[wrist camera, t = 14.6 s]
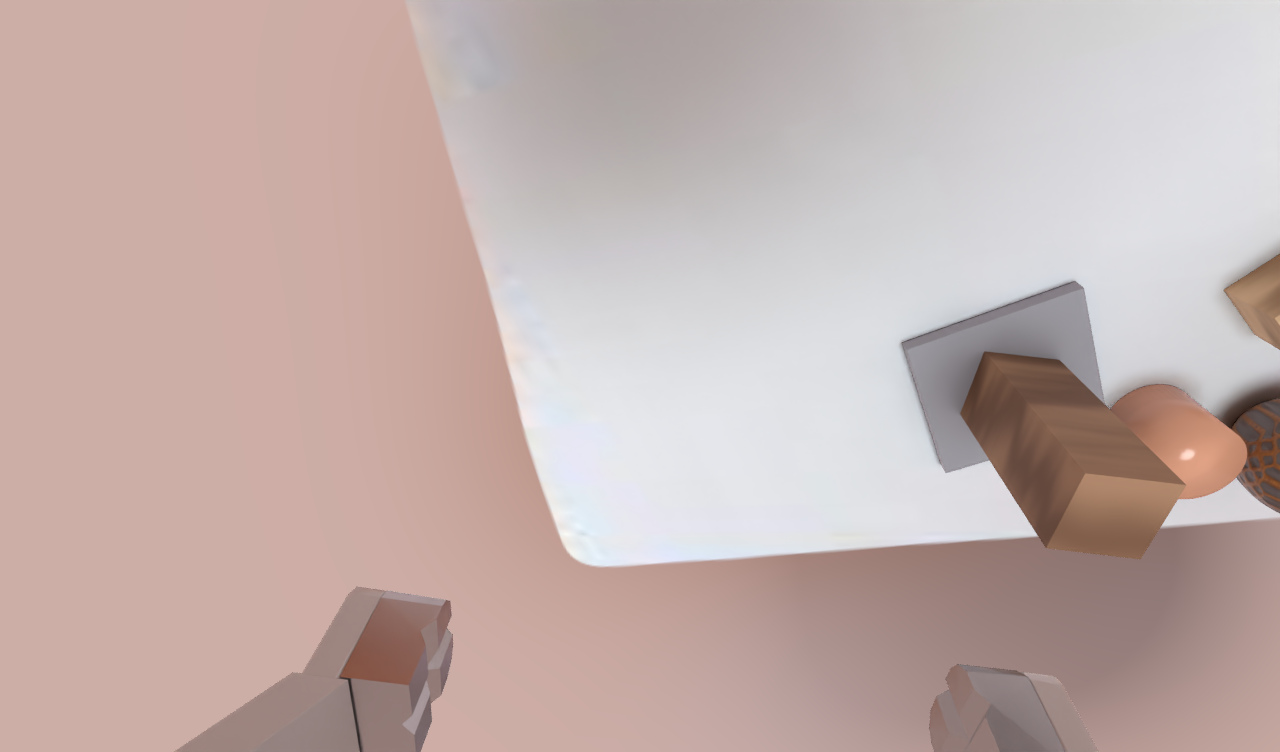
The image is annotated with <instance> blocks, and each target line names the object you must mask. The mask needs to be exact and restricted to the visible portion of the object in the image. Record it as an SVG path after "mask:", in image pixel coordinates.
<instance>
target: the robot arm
mask: <svg viewBox="0 0 1280 752" xmlns="http://www.w3.org/2000/svg"><path fill="white" fill-rule="evenodd" d="M450 618H451V604H450V601H448V600H443V599H437V598H430V597H424V596H418V595H411V594H405V593H398V592H392V591H384V590H377V589H369V588H362V587H356V588H355V589H354V590H353V591H352V592H350V593H349V594H348V596H347V597H346V599H345V601H344V603H343V604H342V606H341V608H340V609H339V611H338V613H337V614H336V616H335V618H334V620H333V621H332V623H331V625H330V626H329V628H328V630H327V632H326V633H325V635H324V637H323V638H322V640H321V642H320V644H319V645H318V647H317V649H316V650H315V652H314V654H313V655H312V657H311V659H310V661H309V663H308V664H307V666H306V667H305V669H304V671H303V673H291V674H290V675H288V676H287V677H285V678H284V679H282V680H281V681H279V682H278V683H276V684H275V685H273V686H272V687H270V688H269V689H267V690H266V691H264V692H263V693H261V694H260V695H258V696H257V697H255V698H254V699H252V700H251V701H249V702H248V703H246V704H245V705H243V706H242V707H240V708H239V709H237V710H236V711H234V712H233V713H231V714H230V715H228V716H227V717H225V718H224V719H222V720H221V721H219V722H218V723H216V724H215V725H213V726H212V727H210V728H209V729H207V730H206V731H204V732H203V733H201V734H200V735H198V736H197V737H195V738H194V739H192V740H191V741H189V742H188V743H186V744H185V745H184V746H182V747H180V748H179V749H177V750H176V751H174V752H421V749H422V746H423V743H424V741H425V738H426V735H427V733H428V730H429V727H430V725H431V722H432V716H431V703H432V702H433V701H434V700H435V699H436V698H438V697H439V696H440V695H441V694H442V692H443V689H444V686H445V683H446V680H447V677H448V672H449V667H450V664H451V659H452V649H453V634H452V633H451V632H450V631H449V630H448V629H447V626H448V623H449V621H450ZM946 681H947V684H948V687H949V690H947V691H945V692H944V693H942V694H940V695H938V696H937V697H936V699H935V701H934V703H933V706H932V708H931V712H930V724H929V729H930V736H931V743H932V746H933V749H934V752H1099V751H1098V749H1097V747H1096V745H1095V743H1094V742H1093V740H1092V738H1091V736H1090V734H1089V732H1088V731H1087V729H1086V727H1085V725H1084V723H1083V721H1082V720H1081V718H1080V716H1079V714H1078V712H1077V711H1076V709H1075V707H1074V705H1073V703H1072V701H1071V699H1070V698H1069V696H1068V694H1067V692H1066V690H1065V689H1064V687H1063V685H1062V684H1061V682H1060V681H1059V680H1057V678H1056V677H1055V676H1049V675H1041V674H1033V673H1025V672H1018V671H1014V670H1005V669H996V668H988V667H979V666H970V665H961V664H957V665H955V666H954V667H952V668H951V669H950V671H949V673H948V675H947V677H946Z"/></svg>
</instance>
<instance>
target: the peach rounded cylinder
mask: <svg viewBox="0 0 1280 752" xmlns="http://www.w3.org/2000/svg"><path fill="white" fill-rule="evenodd" d="M1111 411H1112V412H1113V413H1114V414H1115V415H1116V416H1117V417H1118V418H1119V419H1120V420H1121V421H1122V422H1123V423H1124V424H1125V425H1126V426H1127V427H1128V428H1129V429H1130V430H1131V431H1132V432H1133V433H1134V434H1135V435H1136V436H1137V437H1138V438H1139V439H1140V440H1141V441H1142V442H1143V443H1144V444H1145V445H1146V446H1147V447H1148V448H1149V449H1150V450H1151V451H1152V452H1153V453H1154V454H1156V455H1157V456H1158V457H1159V458H1160V459H1161V460H1162V461H1163V462H1164V463H1165V464H1166V465H1167V466H1168V467H1169V468H1170V469H1171V470H1172V471H1173V472H1174V473H1175V474H1176V475H1177V476H1178V477H1179V478H1180V479H1181V480H1182V481H1183V482H1184V483H1185V484H1186V487H1185V488H1184V490H1183V492H1182V493H1181V495H1180V497H1179V498H1178V499H1193V498H1199V497H1203V496H1206V495H1209V494H1212V493H1214V492H1216V491H1218V490H1220V489H1222V488H1223V487H1225V486H1226V485H1228V484H1229V483H1230V482H1232V481H1233V480H1234V479H1235V478H1236V477H1237V476H1238V474H1239V473H1240V472H1241V470H1242V469H1243V467H1244V465H1245V463H1246V459H1247V448H1246V444H1245V443H1244V441H1243V440H1242V438H1241V437H1240V436H1238V435H1237V434H1236V433H1235V432H1233V431H1232V430H1231V429H1230V428H1228V427H1227V426H1226V425H1225V424H1223V423H1222V422H1221V421H1220V420H1218V419H1217V418H1216V417H1215V416H1213V415H1212V414H1211V413H1210V412H1208V411H1207V410H1206V409H1205V408H1203V407H1202V406H1201V405H1200V404H1198V403H1197V402H1196V401H1195V400H1193V399H1192V398H1191V397H1190V396H1188V395H1187V394H1186V393H1185V392H1183V391H1182V390H1181V389H1179V388H1177V387H1174V386H1171V385H1164V384H1155V385H1148V386H1144V387H1141V388H1138V389H1136V390H1134V391H1132V392H1130V393H1128V394H1126V395H1125V396H1123V397H1122V398H1121V399H1120V400H1118V401H1117V402H1116V403H1115V404H1114V406H1113V407H1112V408H1111Z"/></svg>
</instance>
